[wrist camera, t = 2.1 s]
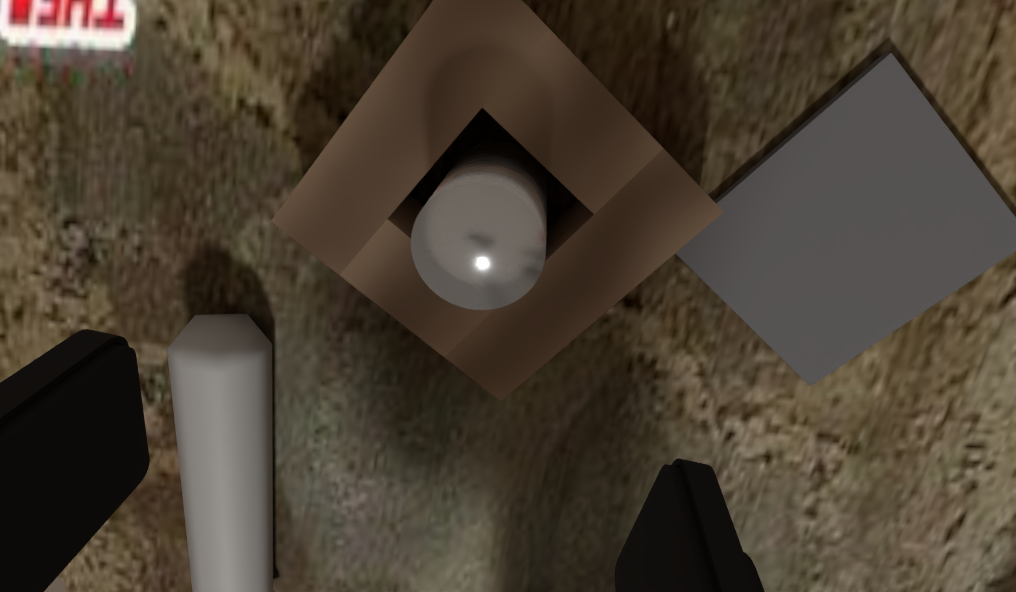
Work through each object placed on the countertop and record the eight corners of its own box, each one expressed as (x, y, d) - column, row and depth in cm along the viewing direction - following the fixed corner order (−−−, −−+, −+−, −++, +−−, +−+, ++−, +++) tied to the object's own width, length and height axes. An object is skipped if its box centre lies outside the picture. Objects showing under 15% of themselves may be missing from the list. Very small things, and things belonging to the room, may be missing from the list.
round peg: (568, 190, 27) (574, 248, 20) (501, 257, 29) (484, 333, 21) (493, 118, 25) (470, 152, 18) (428, 193, 27) (384, 251, 20)
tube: (136, 321, 28) (176, 622, 39) (216, 358, 26) (233, 660, 37) (223, 287, 32) (236, 564, 43) (294, 317, 31) (290, 596, 42)
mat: (1024, 236, 26) (1032, 239, 26) (806, 381, 31) (810, 386, 30) (884, 52, 23) (891, 52, 23) (665, 242, 28) (667, 245, 27)
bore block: (700, 186, 26) (723, 211, 23) (506, 359, 31) (500, 401, 28) (484, -40, 23) (471, -53, 19) (306, 196, 28) (270, 221, 24)
